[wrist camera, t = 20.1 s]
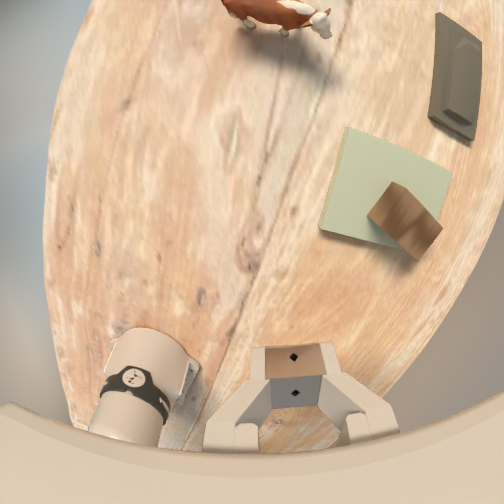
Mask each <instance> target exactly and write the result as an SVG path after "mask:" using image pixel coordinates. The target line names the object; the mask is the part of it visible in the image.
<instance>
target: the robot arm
mask: <svg viewBox="0 0 504 504" xmlns="http://www.w3.org/2000/svg"><path fill="white" fill-rule="evenodd" d="M109 347H110V350H111V354H110V357H109V359H108V361H107V364H106V366H105V368H104V373H105V376H106V378H107V380H106V382H105V383H104V385H103V387H102V389H101V393H100V401H99V403H98V405H97V408H96V410H95V412H94V414H93V417H92V419H91V421H90V424H89V426H88V431H85V430H82V429H79V428H76V427H73V426H70V425H67V424H64V423H61V422H59V421H56V420H53V419H51V418H48V417H46V416H43V415H41V414H39V413H36V412H34V411H31V410H29V409H27V408H25V407H23V406H21V405H18V404H16V403H12V402H11V403H7V404H5V405H3V406H1V407H0V504H504V391H502V392H500V393H498V394H496V395H494V396H493V397H491V398H489V399H487V400H485V401H483V402H481V403H478V404H476V405H474V406H472V407H470V408H468V409H466V410H463V411H461V412H459V413H456V414H454V415H452V416H449V417H446V418H444V419H441V420H439V421H436V422H433V423H430V424H427V425H424V426H422V427H419V428H416V429H412V430H409V431H406V432H402V433H400V430H399V427H398V424H397V422H396V419H395V416H394V413H393V410H392V408H391V405H390V404H388V403H387V402H385V401H384V400H383V399H381V398H380V397H379V396H377V395H376V394H375V393H373V392H372V391H370V390H369V389H368V388H366V387H365V386H364V385H362V384H361V383H360V382H358V381H357V380H356V379H354V378H353V377H352V376H350V375H349V374H348V373H346V372H343V373H342V371H341V367H340V364H339V360H338V357H337V354H336V350H335V347H334V344H333V342H332V341H327V342H319V343H310V344H299V345H287V346H265V347H251V350H250V374H249V380H245V381H244V382H243V383H242V384H241V385H240V387H239V388H238V389H237V390H236V391H235V392H234V393H233V394H232V395H231V396H230V397H229V399H228V400H227V401H226V402H225V403H224V404H223V405H222V406H221V407H220V408H219V409H218V410H217V411H216V412H215V413H214V414H213V415H212V417H211V418H210V419H209V420H208V421H207V422H206V429H205V435H204V442H203V448H202V453H201V452H190V451H181V450H173V449H166V448H159V447H158V443H159V439H160V434H161V430H162V426H163V425H164V424H165V423H166V421H167V419H168V416H169V413H170V412H171V411H172V409H173V407H174V405H175V404H176V405H179V406H183V404H184V401H185V396H186V394H187V392H188V390H189V388H190V386H191V384H192V382H193V380H194V378H195V376H196V374H197V372H198V370H199V368H200V365H199V363H198V362H197V361H195V360H194V359H192V358H191V357H189V356H188V355H187V353H186V352H185V351H184V349H183V348H182V347H181V346H180V345H179V344H178V343H177V342H176V341H175V340H174V339H172V338H171V337H169V336H167V335H166V334H164V333H162V332H159V331H156V330H153V329H149V328H133V329H130V330H128V331H126V332H125V333H124V334H123V335H122V336H121V337H119V338H114V339H112V340H110V343H109ZM314 405H317V406H318V408H319V409H320V410H321V411H322V412H323V413H324V414H325V415H326V416H327V417H328V418H329V419H330V420H331V422H332V423H333V424H334V425H335V426H336V427H337V428H338V429H339V430H340V431H341V433H340V435H339V438H338V440H337V443H336V445H335V448H328V449H321V450H313V451H303V452H292V453H277V454H261V448H260V440H259V432H258V430H259V428H260V427H261V425H262V424H263V422H264V421H265V420H266V418H267V417H268V415H269V413H270V412H271V410H272V409H277V408H288V407H301V406H314Z"/></svg>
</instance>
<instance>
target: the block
mask: <svg viewBox="0 0 504 504" xmlns="http://www.w3.org/2000/svg"><path fill="white" fill-rule="evenodd" d="M367 216H368V217H369V218H370V219H371V220H373V221H374V222H375V223H376V224H377V225H378V226H379V227H381V228H382V229H383V230H384V231H385V232H386V233H387V234H389V235H390V236H391V237H392V238H393V239H394V240H395V241H396V242H398V243H399V244H400V245H401V246H402V247H403V248H404V249H405V250H406V251H407V252H408V253H410V254H411V255H412V256H413V257H414V258H415V259H416V260H417V261H419V259H420V258H421V257H422V256H423V254H424V253H425V252H426V251H427V249H428V248H429V247H430V245H431V244H432V243H433V241H434V240H435V239H436V237H437V236H438V235H439V233H440V232H441V231H442V229H443V228H442V226H441V225H440V224H439V223H438V222H437V221H436V220H435V218H434V217H433V216H432V215H431V214H430V213H429V212H428V211H427V209H426V208H425V207H424V206H423V205H422V204H421V203H420V202H419V201H418V200H417V199H416V198H415V197H414V196H413V195H412V194H411V192H410V191H409V190H408V189H407V188H405V187H403V186H401V185H399V184H397V183H395V182H391V184H390V185H389V186H388V188H387V189H386V190H385V192H384V193H383V194H382V196H381V197H380V198H379V200H378V201H377V202H376V204H375V205H374V206H373V208H372V209H371V210H370V212H369V213H368V214H367Z"/></svg>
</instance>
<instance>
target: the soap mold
mask: <svg viewBox="0 0 504 504" xmlns="http://www.w3.org/2000/svg"><path fill="white" fill-rule="evenodd" d="M435 19H436V25H435V54H434V68H433V79H432V88H431V96H430V104H429V111H428V117H429V118H430V119H432V120H434V121H436V122H438V123H440V124H442V125H444V126H445V127H447V128H449V129H451V130H453V131H454V132H456V133H458V134H459V135H461V136H463V137H465V138H466V139H468V140H469V141H474V139H475V133H476V127H477V120H478V112H479V103H480V93H481V78H482V42H481V41H480V40H479V39H477V38H476V37H475V36H474V35H472V34H471V33H470V32H468V31H467V30H466V29H464V28H463V27H461V26H460V25H459V24H457V23H456V22H454V21H453V20H451V19H450V18H448V17H447V16H445V15H444V14H442V13H441V12H440V13H436V14H435Z"/></svg>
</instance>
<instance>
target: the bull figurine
mask: <svg viewBox="0 0 504 504" xmlns="http://www.w3.org/2000/svg"><path fill="white" fill-rule="evenodd" d="M221 1H222V3H223V5H224V6H225V7H226V9H227V10H228V13H229V15H230V16H231V17H234V18H235V19H237V18H240V19H241V20H243V22H244V25H247V26H248V27H249V28H251V29H253V28H255V27H256V24H255V23H253V22H252V21H250V20H248V19H247V16H251V17H253V18H254V19H256V20H257V21H259V22H262V23H266V24H277V25H281V26H282V27H283V28H281V29H280V30H279V32H281V33H282V35H283V36H287V35H289V32H288V31H289V30H292V29H296V28H299V27H302V28H304V27H307V26H311V29H312V30H313V31H315V32H317V33H319V34H320V36H321V37H322V38H323V39H328V38H330V37H331V36H332V33H331V32H330V20H329V19H328V18H327V16H328V15H329V13H330V10H331V8H329V9H328V10H326V11H325V12H324V13H320V12H318V11H317V10H316V9H315V8H313V7H312V6H310V5H307V4H305V3H303V2H301V1H299V0H221Z"/></svg>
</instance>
